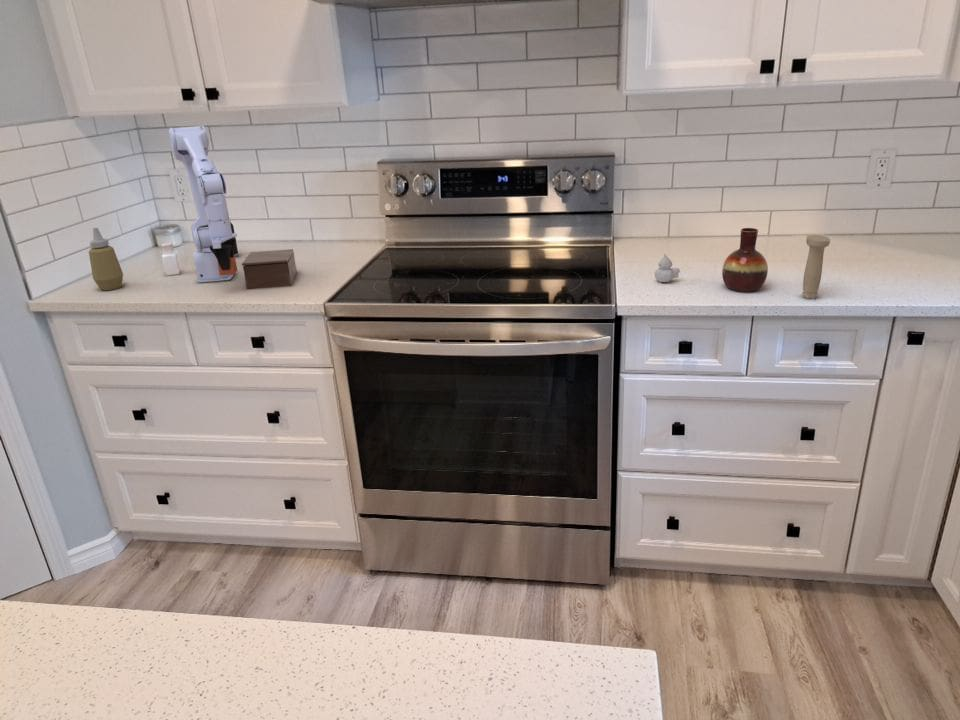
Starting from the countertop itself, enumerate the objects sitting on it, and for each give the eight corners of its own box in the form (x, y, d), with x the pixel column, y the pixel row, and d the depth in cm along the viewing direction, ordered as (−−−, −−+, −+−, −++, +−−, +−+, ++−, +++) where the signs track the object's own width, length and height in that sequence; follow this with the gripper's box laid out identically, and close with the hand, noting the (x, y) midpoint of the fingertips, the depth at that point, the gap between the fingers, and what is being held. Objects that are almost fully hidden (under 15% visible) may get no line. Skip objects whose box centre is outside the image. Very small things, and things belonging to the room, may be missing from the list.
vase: (713, 289, 181) (719, 231, 175) (731, 279, 189) (737, 222, 183) (755, 297, 175) (763, 237, 168) (771, 286, 182) (779, 228, 176)
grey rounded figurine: (653, 278, 192) (655, 250, 189) (677, 278, 191) (680, 250, 188) (654, 284, 187) (656, 255, 184) (679, 284, 186) (682, 256, 183)
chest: (291, 285, 200) (287, 263, 198) (247, 289, 199) (242, 266, 196) (296, 272, 213) (293, 251, 210) (255, 275, 211) (251, 254, 209)
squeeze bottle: (118, 282, 211) (103, 223, 204) (131, 286, 207) (115, 226, 199) (91, 289, 206) (74, 229, 198) (103, 293, 201) (86, 232, 194)
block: (219, 275, 192) (217, 261, 191) (223, 271, 196) (220, 257, 194) (234, 274, 193) (232, 260, 191) (237, 270, 196) (234, 256, 195)
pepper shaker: (180, 271, 220) (174, 241, 216) (179, 274, 216) (173, 244, 213) (167, 272, 219) (160, 243, 215) (166, 276, 215) (159, 246, 211)
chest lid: (287, 262, 197) (287, 260, 196) (241, 265, 195) (241, 263, 195) (293, 250, 210) (293, 249, 210) (251, 254, 209) (250, 252, 208)
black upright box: (230, 253, 238) (223, 218, 233) (242, 254, 236) (236, 219, 231) (217, 257, 233) (210, 222, 229) (229, 259, 231) (222, 223, 226)
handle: (815, 293, 176) (824, 234, 170) (823, 301, 170) (833, 241, 164) (795, 293, 176) (803, 235, 170) (802, 301, 170) (812, 241, 164)
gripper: (227, 224, 182) (237, 273, 187) (238, 212, 195) (247, 259, 200) (200, 225, 181) (210, 275, 187) (212, 214, 194) (222, 261, 200)
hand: (227, 267), depth 193 cm, fingers closed on block, 4 cm apart
